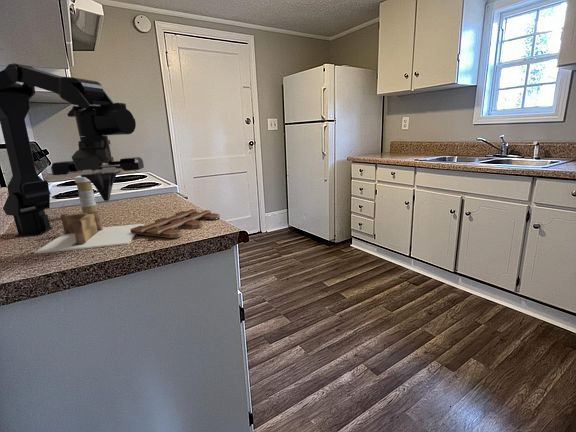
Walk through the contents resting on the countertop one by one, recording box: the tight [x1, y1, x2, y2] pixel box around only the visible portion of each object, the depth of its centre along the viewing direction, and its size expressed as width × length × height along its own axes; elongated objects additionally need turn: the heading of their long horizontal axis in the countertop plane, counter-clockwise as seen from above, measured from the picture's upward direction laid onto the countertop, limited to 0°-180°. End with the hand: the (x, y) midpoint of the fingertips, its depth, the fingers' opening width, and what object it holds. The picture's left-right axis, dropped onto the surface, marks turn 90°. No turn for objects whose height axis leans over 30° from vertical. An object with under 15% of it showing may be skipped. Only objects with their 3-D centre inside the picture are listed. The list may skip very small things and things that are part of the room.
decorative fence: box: [130, 208, 221, 239], centre depth 89 cm, size 23×2×15 cm
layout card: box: [34, 223, 145, 255], centre depth 81 cm, size 20×17×1 cm
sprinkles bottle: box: [74, 175, 98, 213], centre depth 104 cm, size 5×5×13 cm
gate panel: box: [72, 213, 98, 244], centre depth 79 cm, size 11×2×6 cm, turn 15°
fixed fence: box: [60, 210, 102, 233], centre depth 85 cm, size 9×2×5 cm, turn 102°
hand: (106, 200), depth 77 cm, fingers closed
